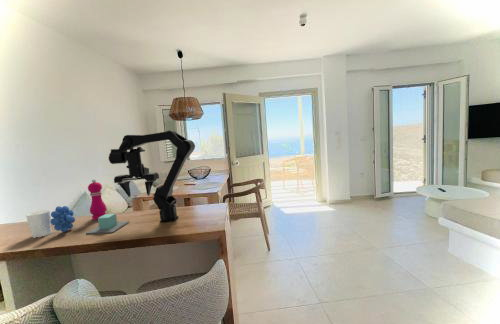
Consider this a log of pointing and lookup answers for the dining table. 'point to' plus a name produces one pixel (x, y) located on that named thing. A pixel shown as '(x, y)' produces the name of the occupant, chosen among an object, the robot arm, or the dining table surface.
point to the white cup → (39, 223)
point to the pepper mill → (96, 200)
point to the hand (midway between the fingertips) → (139, 196)
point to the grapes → (62, 218)
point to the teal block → (107, 221)
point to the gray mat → (112, 230)
